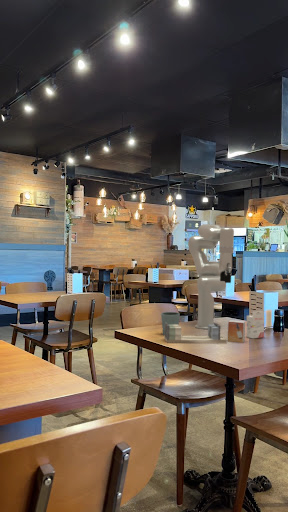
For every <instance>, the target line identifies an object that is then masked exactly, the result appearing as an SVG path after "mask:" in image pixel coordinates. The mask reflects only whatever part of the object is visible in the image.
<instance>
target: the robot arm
mask: <svg viewBox="0 0 288 512" xmlns="http://www.w3.org/2000/svg"><path fill="white" fill-rule="evenodd" d="M197 233H198V235H192V236H190V237H189V239H188V241H187V242H188V243H187V244H188V247H187V248H188V251H189V253H190V255H191V256H192V260H193V263H194V266H195V267H194V268H195V272H196V274H197V275H198V276H199V277H198V278H197V279H196V285H197V295H198V296H197V297H198V298H197V323H196V324H195V326H194V327H195V328H197V329H200V330H208V325H214V313H215V309H214V308H215V300H214V299H215V298H214V296H213V294H212V293H211V292H213V293H214V292H223V291H225V290H226V287H227V284H231V282H232V270H233V269H232V268H233V255H232V254H234V239H235V237H234V235H235V230H234V228H232V227H221V226H220V225H219V224H208V223H207V224H206V223H205V224H201V225H200V226H199V227H198V229H197ZM218 243H219V250H218V253H219V258H218V259H219V260H218V261H219V262H218V261H209V260H208V257H207V254H206V253H205V252H204V251H203V250H210V249H211V250H213V249H215V247H216V246H217V244H218Z"/></svg>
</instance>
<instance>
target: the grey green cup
mask: <svg viewBox="0 0 288 512" xmlns="http://www.w3.org/2000/svg"><path fill="white" fill-rule="evenodd" d="M180 314H181V313H180V312H176V311H175V312H174V311H165V312H161V314H160V316H161V317H160V318H161V322H162V323H161V328H162V329H161V330H162V336H165V323H168V325H179V326H180V317H181V315H180Z"/></svg>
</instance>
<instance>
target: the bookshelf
mask: <svg viewBox="0 0 288 512" xmlns="http://www.w3.org/2000/svg"><path fill="white" fill-rule="evenodd" d="M221 327H222V326H221V325H220V324H218V323H217V322H213V325H208V329H207V335H182V326H180V324H179V325H168V323H165V335H163V339H164V340H165V342H166V343H167V344H205V345H206V344H209V345H210V344H211V345H212V344H214V345H216V344H217V345H219V344H220V345H222V344H225V345H227V343H228V339H226V338H225V337H223V336H222V335H221V330H222V329H221Z"/></svg>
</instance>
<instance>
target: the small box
mask: <svg viewBox="0 0 288 512" xmlns="http://www.w3.org/2000/svg"><path fill="white" fill-rule="evenodd" d="M227 323H228V324H227V342H232V343H240V344H243V343H244V342H245V338H246V335H245V334H246V321H245V320H235V319H234V320H233V319H230V320H229V321H227Z"/></svg>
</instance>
